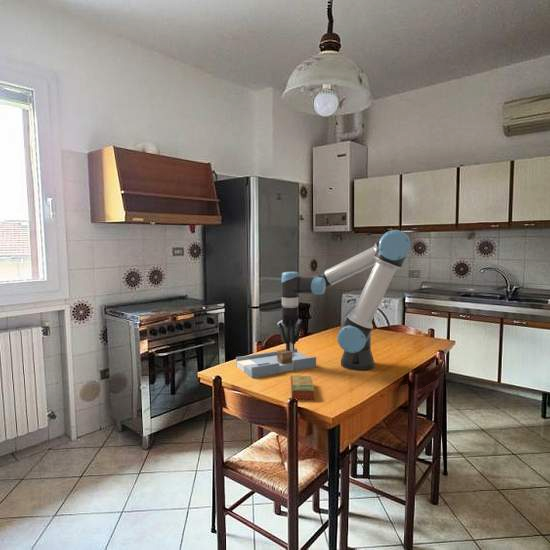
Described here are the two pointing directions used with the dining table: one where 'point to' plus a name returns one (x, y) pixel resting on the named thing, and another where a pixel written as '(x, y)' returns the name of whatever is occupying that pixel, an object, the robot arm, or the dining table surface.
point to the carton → (302, 388)
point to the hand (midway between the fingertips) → (290, 357)
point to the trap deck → (272, 363)
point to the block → (284, 356)
